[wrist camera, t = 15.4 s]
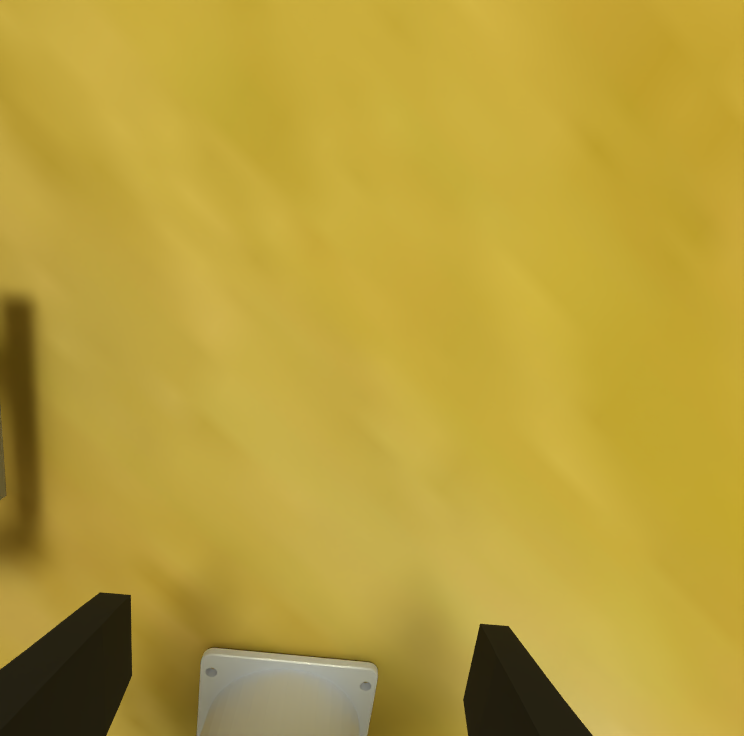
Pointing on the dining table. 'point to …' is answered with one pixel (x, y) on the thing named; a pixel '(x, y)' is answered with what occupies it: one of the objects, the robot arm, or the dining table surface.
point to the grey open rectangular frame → (2, 465)
